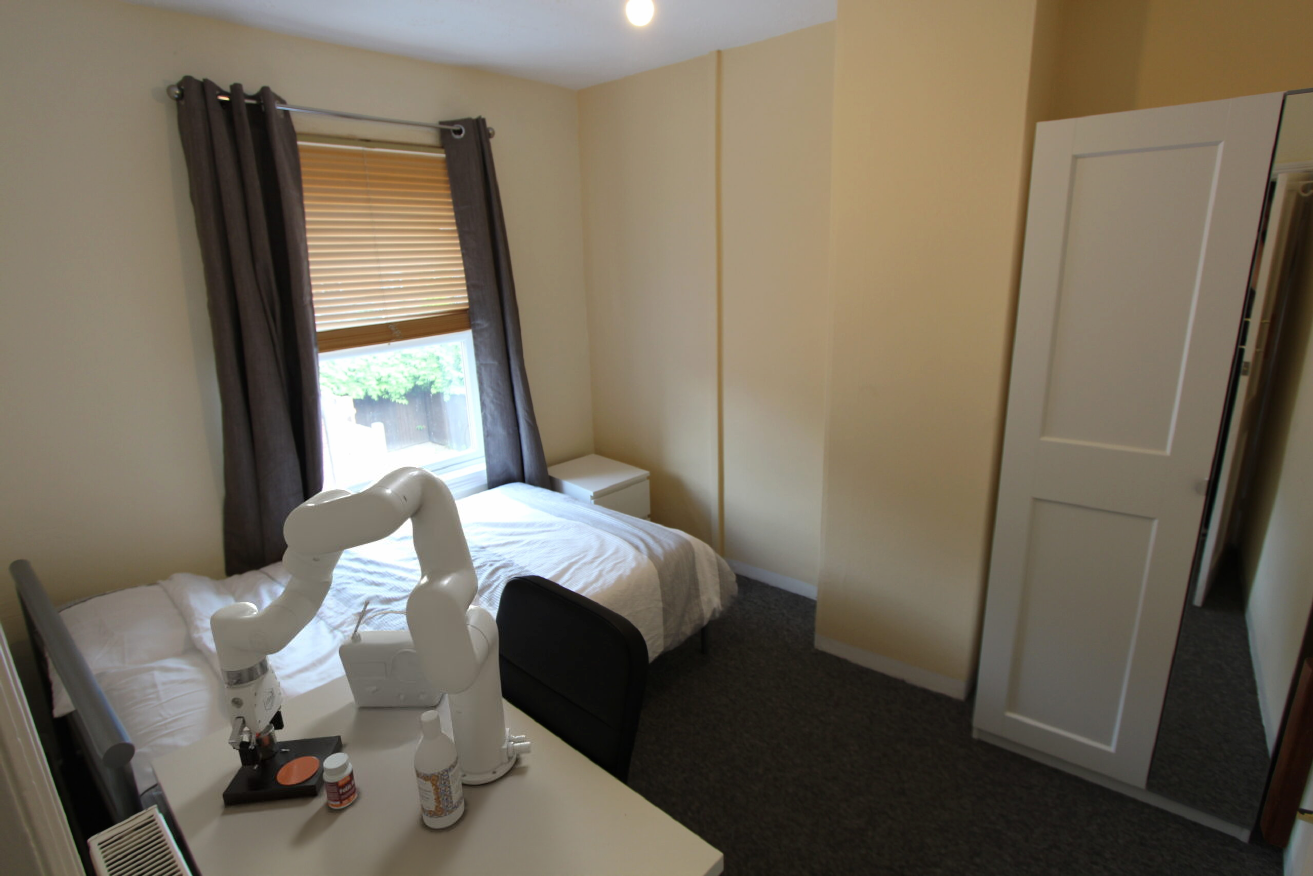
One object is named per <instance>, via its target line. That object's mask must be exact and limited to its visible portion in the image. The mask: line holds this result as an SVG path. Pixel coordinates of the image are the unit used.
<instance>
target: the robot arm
mask: <svg viewBox="0 0 1313 876" xmlns="http://www.w3.org/2000/svg"><path fill="white" fill-rule="evenodd" d="M409 519H410V522H411V526H412V527H411V528H412V541H413V548H414V551H415V554H416V557H417V560H418V564H419V568H420V579H419V581H418V583H417V584H416V585H415V586H414V587H413V589H412V590H411V592H410V594H409V595H408V598H407V600H406V604H405V612H406V615H405V619H406V625H407V628H408V630H409V631H410V634H411V638H412V641H413V644H414V647H415V650H416V653H417V656H418V659H419V663H420V666H421V668H422V671H423V673H424V676H425V677H426V679H427V681H428V682H429V683H430V684H431V685H432V686H433V687H434V688H435V689H436V690H438V691H440V692H442V693H443V694H446V695H447V699H448V706H449V713H450V720H451V727H452V728H451V729H452V734H453V742H454V744H455V747H456V750H457V755H458V762H459V769H460V776H461V783H462V784H465V785H482V784H486V783H487V784H488V783H490V782H493V781H495V780H497V779H499V778H500V777H502V776H504V775H505V774H506V773H507V772H508V771H509V770H510V769H511V768H512V767H513V766H514V765H515V762H516V760H517V757H518V756H517V755H518V754H522V755H523V754H525V755H526V754H531V752H532V744H531V741H526V739H527V738H526V734H524V735H523V734H522V735H516V736H514V735H511V729H510V727H506V720H505V711H504V702H503V693H502V682H501V673H500V657H499V655H500V653H499V652H500V649H499V648H500V638H499V637H500V635H499V628H498V624H497V621H496V620H495V618H494V616H493V615H492V613H491V612H489V611H488V610H487V609H486V608H484V607H482V606H479V605H472V604H473V602H474V600H475V598H476V596H477V594H478V591H479V579H478V576H477V572H476V569H475V566H474V562H473V558H472V555H471V552H470V548H469V545H468V541H467V539H466V536H465V532H464V530H463V525H462V522H461V519H460V514H459V510H458V507H457V503H456V502H455V498H454V496H453V494H452V492H451V490H450V488H449V487H448V485H447V484H446V483H445V481H444V480H442V479H441V478H440V477H439V476H438V475H437V474H435V473H433V472H432V471H430V470H428V469H426V468H423V467H420V466H416V465H401V466H397V467H394V468H392V469H390V470H387V471H385V472H384V473H383V474H381V475H380V476H378V477H377V478H376V479H374V480H373V481H372V482H370V484H368V485H367V486H365V487H364V488H363V489H361V490H360V491H358V492H355V493H354V492H353V491H351V490H349V489H347V488H342V487H331V488H326V489H324V490H322V491H319V492H318V493H316V494H315V495H312V496H311V497H310V498H308V499H307V500H306V501H303V503H301V504H300V505H298V506H297V507H295V508H294V509H293V510H292V511H290V513H289V514H288V516H287V517H286V519H285V521H284V524H283V538H284V541H285V543H286V544H287V545H286V546H287V548H286V549H285V551H284V554H283V556H282V560H281V561H282V566H283V568H284V570H285V572H287V573H288V574H289V575H290V578H289V580H288V582H287V583H286V586H285V588H284V589H283V591H282V592H281V593H280V594H279V596H277V597H276V598H275V599H273V601H271V602H270V603H269V604H268V605H266V606H265V608H263V609H262V610H260V611H259V610H258V608H257V606H256V605H255V604H254V603H251V602H248V601H240V602H234V603H230V604H227V605H225V606H222V607H220V608H219V609H217V610H215V612H213V613H212V615H211V617H210V618H209V625H210V631H211V634H212V638H213V643H214V647H215V650H216V655H217V659H218V663H219V667H220V668H219V669H220V671H221V676H222V680H223V684H224V685H225V686H226V688H225V689H226V691H225V692H226V693H225V695H226V703H227V711H228V716H229V720H230V721H229V722H230V725H231V729H232V730H231V733H230V736H229V738H228V745H230V746H231V747H232V749H233V750H235V751H238V755H239V759H240V763H241V764H240V765H241V766H250V765H259V764H260V762H261V759H260V754H259V750H258V746H257V745H254V744H255V737H256V733H260V732H262V731H263V730H264V728H265V727H266V726H267V725H268V723H270V724H272V725H273V726H274V730H275V731H281V730H283V729H284V728H285V723H284V719H283V715H282V714H283V713H282V710H281V709H282V703H283V696H282V691H281V682H280V681H278V677H277V675H276V672H275V669H274V668H273V665H272V663H271V661H270V659H269V655H271V656H272V655H276V654H278V653H279V652H281V651H283V650H284V649H285V648H286V647H287V646H288V645H289V644H290V643H291V642H292V641H293V640H294V639H295V638H296V637H297V636H298V635H299V634H300V633H301V632H302V631H303V629H305V628H306V626H308V625H309V623H311V622H312V621H313V619H314V618H315V617H316V615H317V614H318V612H319V611H320V609H321V607H322V605H323V603H324V601H325V599H326V598H327V595H328V594H329V592H330V589H331V588H332V584H333V580H334V579H333V578H334V571H335V569H336V567H337V565H338V563H339V561H340V559H341V557H342V554H343V553H344V552H345V551H346V550H350V549H353V548H357V547H360V546H363V545H368V544H371V543H374V542H378V541H381V540H383V539H385V538H388V537H390V536H391V535H393V534H394V533H396V532H397V531H398V530H399V529H400V528H401V527H402V526H403V525H404V524H405V523H406V522H407V521H408V520H409ZM245 728H247V730H244V729H245ZM247 734H250V736H249V741H248V740H244V736H245V735H247Z"/></svg>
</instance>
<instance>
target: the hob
mask: <svg viewBox="0 0 1313 876" xmlns="http://www.w3.org/2000/svg"><path fill="white" fill-rule="evenodd" d="M277 744H278V751H277V752H276V753H275V754H274V755H273V756H272V757H270V758H268V759H265V760H261V762H260V764H259V765H250V766H242V765H241V766H240V768H239V769H238V771H237V772H236V773H235V775H234V776H233V778H232V779H231V781H230V782H229V783H228V786H227V787H226V788H225V790H224V791H223V793H222V794H221V796H222V799H223V804H224V806H225V807H228V806H235V805H237V806H238V805H246V804H254V803H255V804H256V803H263V802H265V803H266V802H274V801H282V800H292V799H301V798H309V797H318V796H319V794H320V792H321V789H322V788H323V786H324V785H325V784H324V780H323V774H324V767H323V763H324V761H325V760H326V759H327V758H328V757H329V756H331V755H333V754H336V753H341V750H342V748H343V741H342V735H329V736H322V737H320V736H319V737H310V738H301V739H290V740H289V739H288V740H281V741H277ZM307 756H310V757H315V758H317V759H318V761H319V768H318V770H317V771H316V772H315V774H314V775H312V776H311V777H310V778H308V779H307V780H305V781H303V782H301V783H298V784H295V785H282V784H280V783H279V782H278V781H277V775H278V772H279V771H280V770H281V768H282V767H284V766H285V765H286V764H287V763H289V762H291V761H293V760H295V759H298V758H301V757H307Z"/></svg>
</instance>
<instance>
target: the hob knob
mask: <svg viewBox="0 0 1313 876" xmlns="http://www.w3.org/2000/svg"><path fill="white" fill-rule="evenodd" d="M249 736H250V734H246V737H247V741H248V742H249ZM277 742H278V740H277V735H276V730H274V726H273V725H272V724H270V723H268V725H267V726H266V727H265V728H264V730H263V731H262V732H260V733H256V737H255V744H254V745H257V746H258V750H259V754H260V759H261V760H265V759H268V758H270V757H272V756H273V755H274V754H275V753H276V752H277V751H278V744H277Z"/></svg>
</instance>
